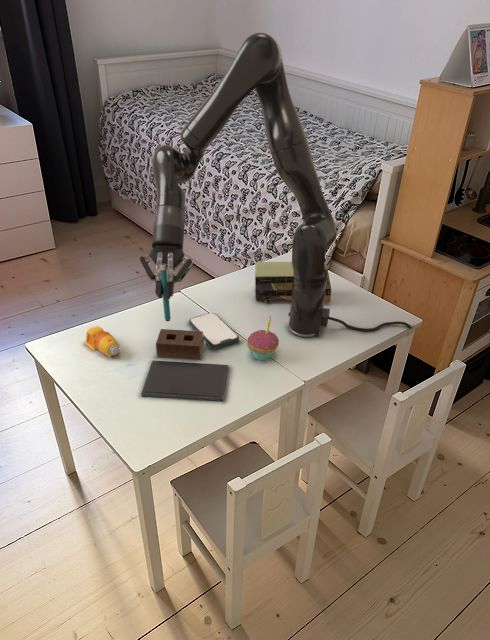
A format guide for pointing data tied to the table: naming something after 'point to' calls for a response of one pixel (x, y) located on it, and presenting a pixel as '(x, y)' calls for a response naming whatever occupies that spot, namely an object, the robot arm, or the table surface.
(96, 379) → the table surface
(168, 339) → the pen stand
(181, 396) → the tablet
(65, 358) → the table surface
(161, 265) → the stylus
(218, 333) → the smartphone
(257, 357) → the cupcake
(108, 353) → the toy figure
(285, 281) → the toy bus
